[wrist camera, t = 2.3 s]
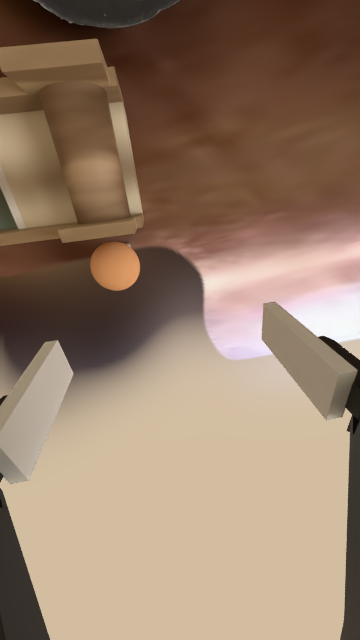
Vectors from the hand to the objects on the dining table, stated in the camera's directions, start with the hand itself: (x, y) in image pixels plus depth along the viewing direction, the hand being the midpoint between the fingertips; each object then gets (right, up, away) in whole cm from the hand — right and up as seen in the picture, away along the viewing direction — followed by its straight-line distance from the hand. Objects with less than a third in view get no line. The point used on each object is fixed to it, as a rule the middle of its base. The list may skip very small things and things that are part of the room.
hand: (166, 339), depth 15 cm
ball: (-6, +7, +9) cm, 13 cm away
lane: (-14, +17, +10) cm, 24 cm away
